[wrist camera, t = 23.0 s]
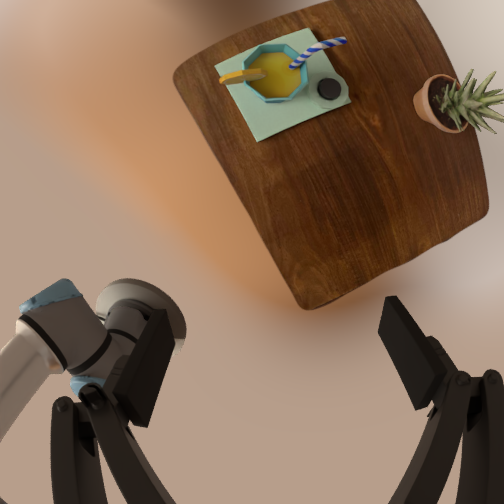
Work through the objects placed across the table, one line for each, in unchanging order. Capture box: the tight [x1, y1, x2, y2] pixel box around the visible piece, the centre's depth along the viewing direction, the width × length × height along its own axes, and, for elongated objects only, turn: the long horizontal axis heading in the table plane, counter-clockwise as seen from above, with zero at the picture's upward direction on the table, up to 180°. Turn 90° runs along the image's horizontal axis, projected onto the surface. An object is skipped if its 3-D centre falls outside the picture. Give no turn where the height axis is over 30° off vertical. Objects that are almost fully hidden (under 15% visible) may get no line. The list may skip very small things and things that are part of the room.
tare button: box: [318, 78, 341, 99], centre depth 32 cm, size 3×3×2 cm
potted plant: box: [413, 69, 504, 134], centre depth 23 cm, size 10×10×25 cm
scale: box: [215, 28, 351, 142], centre depth 34 cm, size 16×14×3 cm
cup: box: [219, 37, 347, 103], centre depth 28 cm, size 14×8×15 cm, turn 117°
